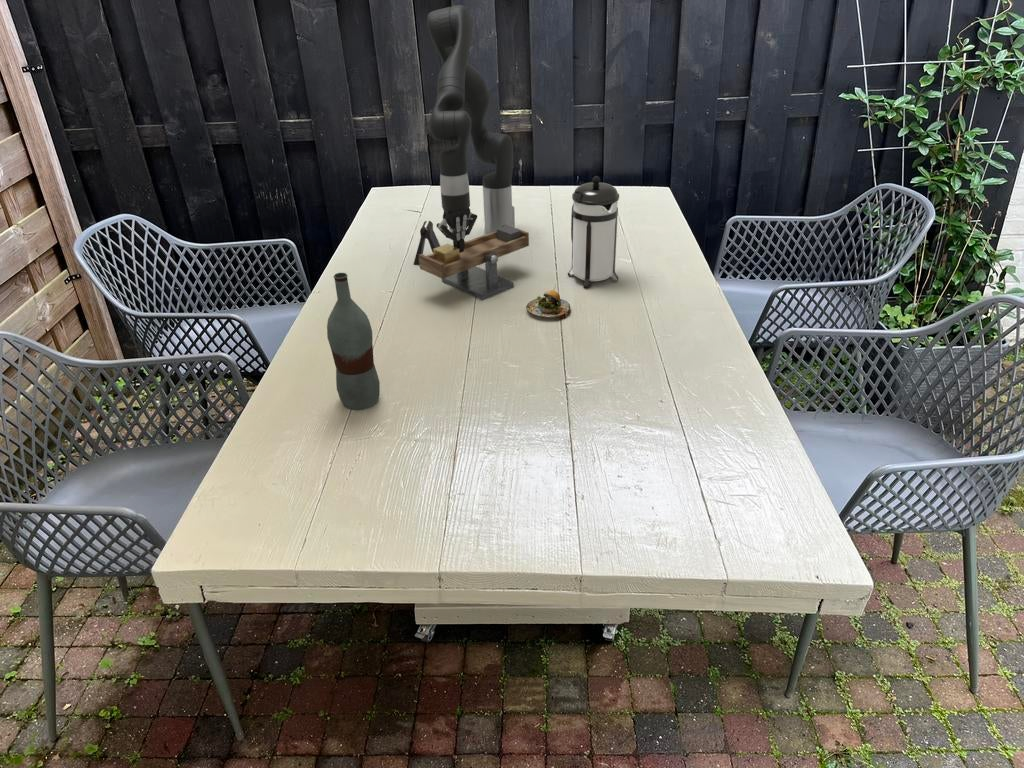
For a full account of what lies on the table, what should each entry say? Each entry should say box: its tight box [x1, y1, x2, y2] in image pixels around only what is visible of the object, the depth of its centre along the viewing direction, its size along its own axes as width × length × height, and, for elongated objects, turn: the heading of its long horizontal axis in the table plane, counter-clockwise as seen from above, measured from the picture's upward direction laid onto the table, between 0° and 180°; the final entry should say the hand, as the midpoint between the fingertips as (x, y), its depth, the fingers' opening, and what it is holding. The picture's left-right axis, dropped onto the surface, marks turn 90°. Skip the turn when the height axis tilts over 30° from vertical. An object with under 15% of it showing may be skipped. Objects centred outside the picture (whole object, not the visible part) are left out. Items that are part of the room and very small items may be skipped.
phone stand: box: [413, 220, 441, 266], centre depth 227 cm, size 9×6×12 cm, turn 86°
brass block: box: [432, 243, 460, 266], centre depth 202 cm, size 5×5×4 cm
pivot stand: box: [441, 240, 515, 301], centre depth 212 cm, size 12×18×11 cm, turn 43°
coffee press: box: [567, 175, 620, 290], centre depth 209 cm, size 17×16×30 cm
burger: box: [525, 284, 572, 321], centre depth 197 cm, size 12×12×8 cm
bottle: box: [326, 272, 381, 411], centre depth 156 cm, size 9×9×30 cm
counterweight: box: [497, 226, 522, 242], centre depth 216 cm, size 4×6×3 cm, turn 43°
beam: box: [419, 224, 530, 280], centre depth 209 cm, size 32×10×4 cm, turn 133°
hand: (459, 251), depth 205 cm, fingers closed
